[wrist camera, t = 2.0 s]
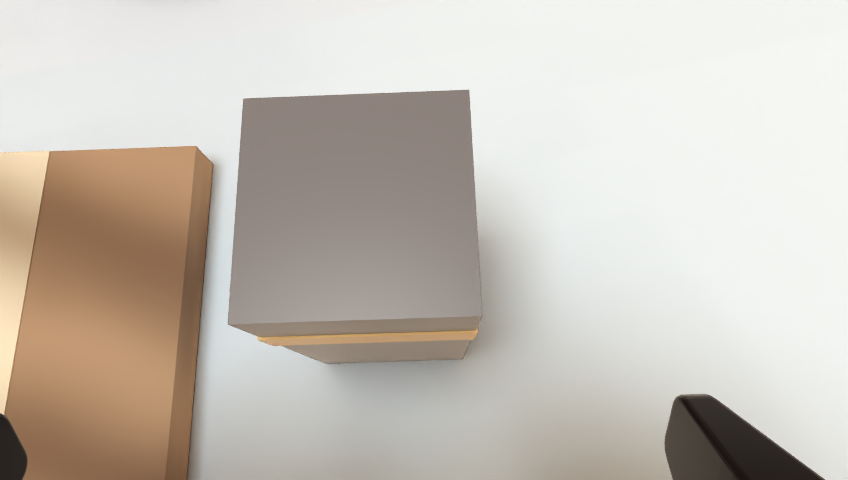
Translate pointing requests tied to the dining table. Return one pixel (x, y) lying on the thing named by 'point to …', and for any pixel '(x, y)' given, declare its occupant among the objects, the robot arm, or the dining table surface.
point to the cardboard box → (102, 308)
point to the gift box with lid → (357, 226)
